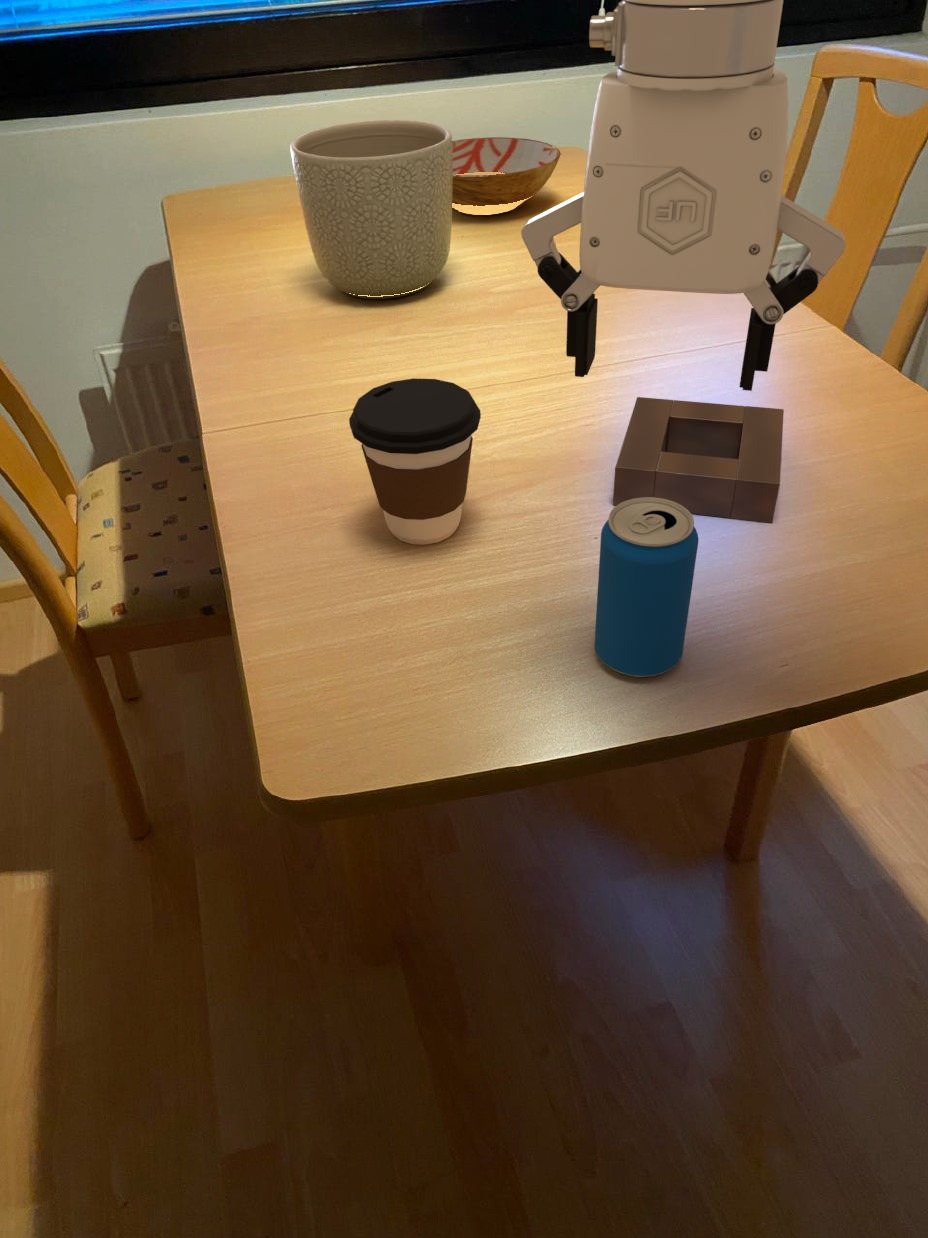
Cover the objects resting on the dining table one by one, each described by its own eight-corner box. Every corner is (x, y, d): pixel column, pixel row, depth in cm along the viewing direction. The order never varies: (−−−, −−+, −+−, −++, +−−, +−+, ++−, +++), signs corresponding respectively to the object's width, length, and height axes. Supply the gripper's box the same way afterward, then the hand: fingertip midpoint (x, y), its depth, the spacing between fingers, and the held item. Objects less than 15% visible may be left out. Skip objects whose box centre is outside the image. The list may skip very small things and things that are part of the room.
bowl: (589, 208, 155) (591, 156, 150) (459, 239, 146) (456, 185, 141) (509, 177, 172) (508, 129, 167) (388, 202, 163) (383, 153, 158)
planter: (302, 271, 138) (280, 129, 126) (437, 252, 141) (428, 113, 129) (325, 322, 122) (302, 166, 110) (476, 299, 126) (471, 145, 114)
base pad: (776, 445, 92) (783, 408, 90) (772, 523, 82) (779, 483, 79) (634, 432, 96) (637, 396, 93) (612, 505, 85) (615, 466, 83)
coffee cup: (338, 531, 84) (319, 410, 76) (422, 481, 90) (412, 364, 82) (426, 576, 78) (415, 450, 70) (509, 519, 84) (507, 397, 76)
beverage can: (700, 660, 69) (721, 524, 61) (634, 696, 66) (648, 559, 58) (640, 615, 73) (653, 483, 65) (576, 648, 70) (582, 515, 63)
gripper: (504, 56, 44) (509, 389, 55) (893, 55, 40) (815, 415, 51) (538, 31, 50) (537, 339, 61) (883, 28, 46) (815, 359, 57)
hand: (664, 373), depth 56 cm, fingers open, 9 cm apart
